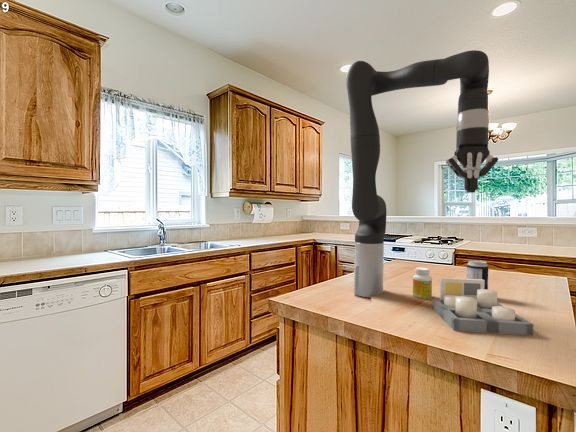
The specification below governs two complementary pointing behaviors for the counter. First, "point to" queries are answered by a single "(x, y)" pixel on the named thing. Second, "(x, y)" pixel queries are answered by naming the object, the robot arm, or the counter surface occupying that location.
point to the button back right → (486, 298)
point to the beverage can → (478, 271)
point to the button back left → (449, 300)
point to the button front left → (466, 307)
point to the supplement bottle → (422, 284)
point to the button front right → (503, 313)
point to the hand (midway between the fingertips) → (470, 192)
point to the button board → (484, 316)
